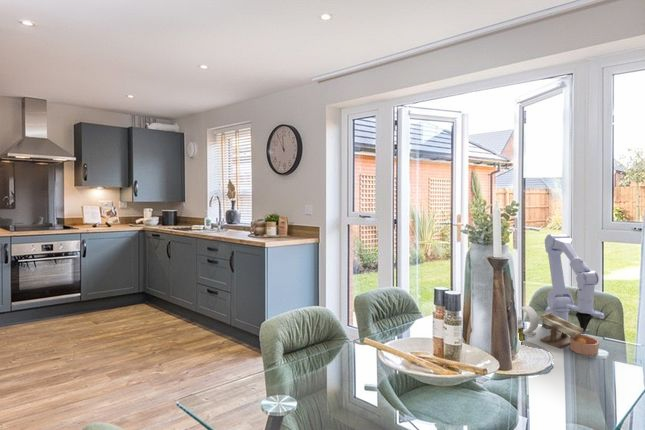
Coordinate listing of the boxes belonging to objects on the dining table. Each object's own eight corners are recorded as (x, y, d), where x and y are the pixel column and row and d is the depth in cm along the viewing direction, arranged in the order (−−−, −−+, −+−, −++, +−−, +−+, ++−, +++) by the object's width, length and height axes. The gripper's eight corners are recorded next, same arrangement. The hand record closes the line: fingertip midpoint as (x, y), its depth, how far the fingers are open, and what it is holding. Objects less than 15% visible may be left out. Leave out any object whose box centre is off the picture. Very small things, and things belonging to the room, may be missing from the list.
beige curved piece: (538, 326, 196) (541, 315, 195) (553, 320, 203) (555, 309, 201) (573, 343, 184) (576, 332, 182) (587, 337, 191) (590, 325, 189)
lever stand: (540, 341, 193) (541, 324, 192) (556, 334, 200) (557, 318, 199) (560, 348, 185) (562, 331, 184) (576, 341, 193) (577, 324, 192)
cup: (565, 348, 185) (565, 338, 185) (577, 342, 191) (578, 332, 190) (590, 357, 177) (591, 346, 177) (602, 351, 183) (603, 340, 182)
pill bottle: (520, 347, 187) (521, 322, 186) (505, 343, 191) (506, 318, 189) (523, 342, 192) (525, 317, 191) (509, 338, 196) (510, 314, 194)
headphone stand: (526, 330, 205) (528, 305, 203) (537, 335, 199) (539, 309, 198) (519, 332, 203) (521, 307, 201) (530, 337, 197) (532, 311, 196)
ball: (572, 346, 186) (574, 337, 185) (577, 343, 188) (579, 335, 187) (582, 350, 183) (584, 341, 182) (587, 348, 185) (589, 339, 184)
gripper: (563, 296, 191) (561, 326, 193) (599, 305, 179) (597, 337, 181) (571, 293, 195) (569, 323, 197) (607, 302, 183) (605, 333, 185)
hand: (583, 329), depth 189 cm, fingers closed, pressing on beige curved piece
